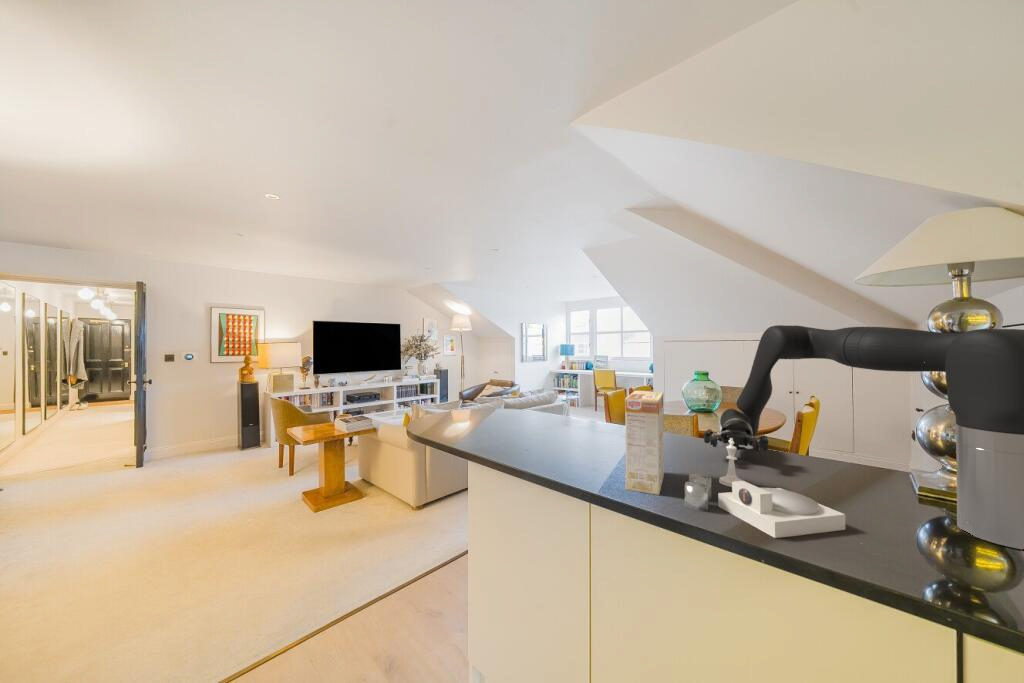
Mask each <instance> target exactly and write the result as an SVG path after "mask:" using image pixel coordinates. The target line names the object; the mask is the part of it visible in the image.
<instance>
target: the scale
mask: <svg viewBox="0 0 1024 683" xmlns="http://www.w3.org/2000/svg"><path fill="white" fill-rule="evenodd" d="M731 490H732V491H730V492H718V494H717V495H718V496H717V497H718V506H717V507H718V508H720V509H722V510H724V511H726V512H728V513H729V514H731V515H732V516H735V517H736V518H738V519H740V520H742V522H745V523H747V524H749V525H751V526H752V527H755V528H756V529H758V530H760V531H761V532H763V533H765V534H767V535H769V536H771V537H772V538H773V539H777V538H779V539H781V538H786V537H787V538H788V537H796V536H804V535H811V534H812V535H813V534H821V533H828V532H837V531H844V530H846V514H845V513H843V512H841V511H838V510H836V509H832V508H830V507H828V506H825V505H823V504H822V503H821V504H820V503H818V502H817V501H815V500H814V499H812V498H810V497H808V496H807V495H806V496H805V495H803V494H801V493H798V492H794V491H790V490H786V489H784V488H781V487H776V488H775V487H774V488H773V487H758V486H756V485H754V484H751V483H749V482H747V481H745V480H743V481H735V482H732V487H731Z"/></svg>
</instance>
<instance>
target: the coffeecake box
mask: <svg viewBox="0 0 1024 683" xmlns="http://www.w3.org/2000/svg"><path fill="white" fill-rule="evenodd" d="M664 397H665V396H664V392H660V391H649V390H647V391H646V390H634V391H633V392H631V393H630V394H629V395H628V396H626V397H625V398H624V403H625V404H624V407H625V410H624V412H625V415H624V416H625V418H624V419H625V490H626V491H632V492H638V493H645V494H649V495H650V494H651V495H657V496H659V495H660V493H661V490H662V484H663V481H664V476H665V456H664V455H665V443H664V442H665V440H664V438H665V435H664V434H665V433H664V432H665V428H664V426H665V424H664V422H665V421H664V419H665V418H664V417H665V416H664V410H665V408H664Z"/></svg>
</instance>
